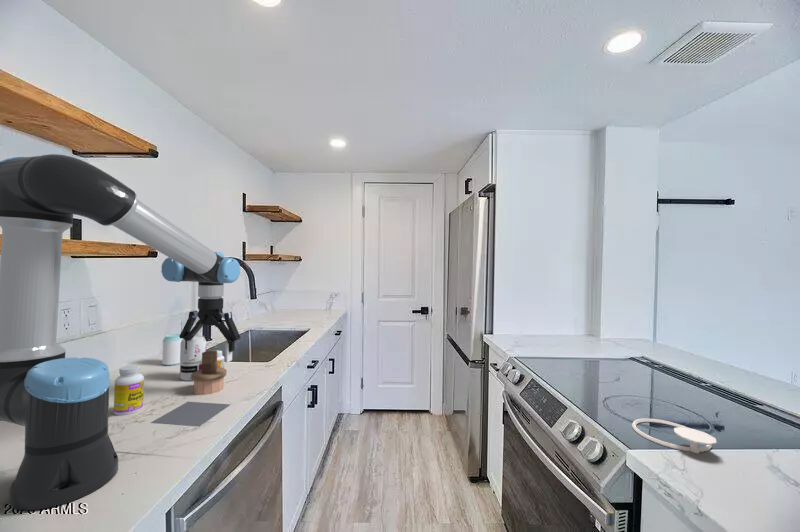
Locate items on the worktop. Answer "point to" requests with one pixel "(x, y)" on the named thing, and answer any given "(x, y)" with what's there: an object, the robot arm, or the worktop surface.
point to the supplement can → (194, 364)
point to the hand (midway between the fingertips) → (209, 360)
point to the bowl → (208, 386)
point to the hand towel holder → (683, 432)
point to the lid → (209, 368)
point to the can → (171, 349)
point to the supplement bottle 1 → (128, 390)
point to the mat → (191, 414)
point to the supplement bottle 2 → (220, 359)
